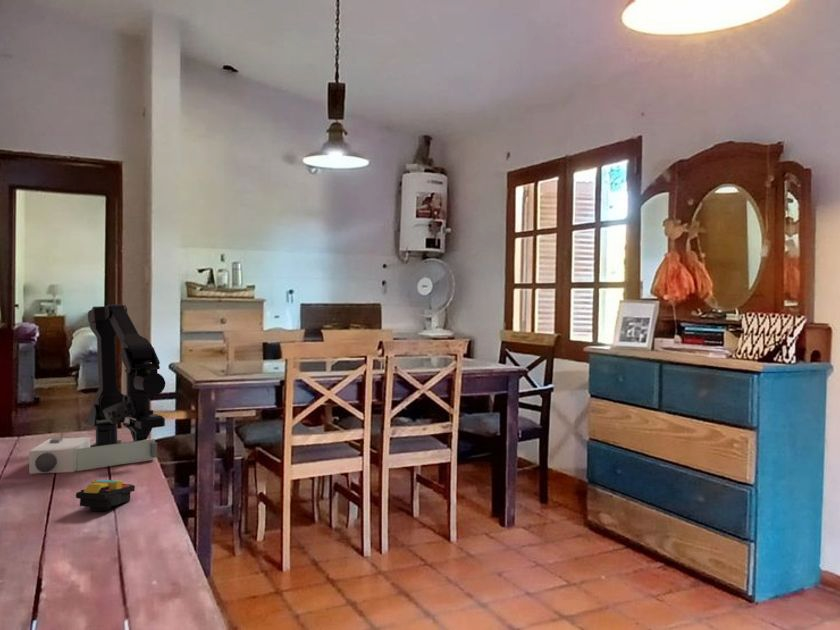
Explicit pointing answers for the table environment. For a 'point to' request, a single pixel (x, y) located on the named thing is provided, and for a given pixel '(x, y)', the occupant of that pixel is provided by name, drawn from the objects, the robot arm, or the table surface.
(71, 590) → the table surface
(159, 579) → the table surface
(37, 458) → the camera case
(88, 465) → the side door
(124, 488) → the gadget
